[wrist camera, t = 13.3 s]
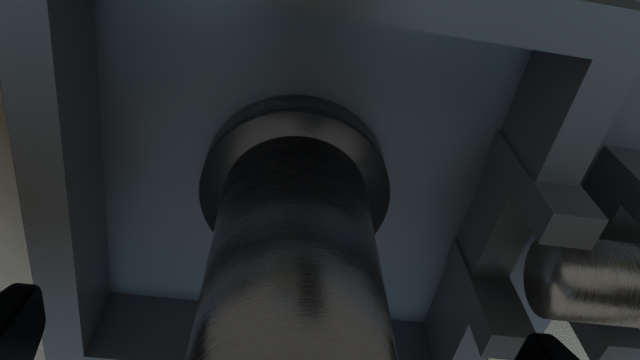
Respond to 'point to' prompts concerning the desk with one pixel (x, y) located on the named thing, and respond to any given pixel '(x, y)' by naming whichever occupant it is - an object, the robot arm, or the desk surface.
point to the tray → (358, 97)
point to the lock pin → (585, 283)
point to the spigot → (293, 237)
